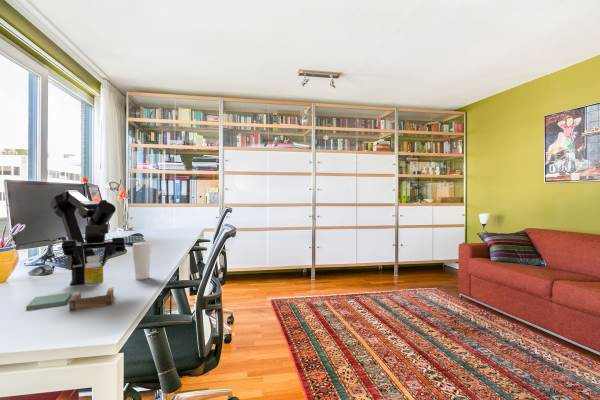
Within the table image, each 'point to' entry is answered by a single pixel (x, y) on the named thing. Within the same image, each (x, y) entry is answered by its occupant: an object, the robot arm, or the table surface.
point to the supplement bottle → (93, 271)
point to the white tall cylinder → (141, 259)
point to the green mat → (49, 301)
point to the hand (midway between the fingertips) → (93, 266)
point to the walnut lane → (90, 301)
